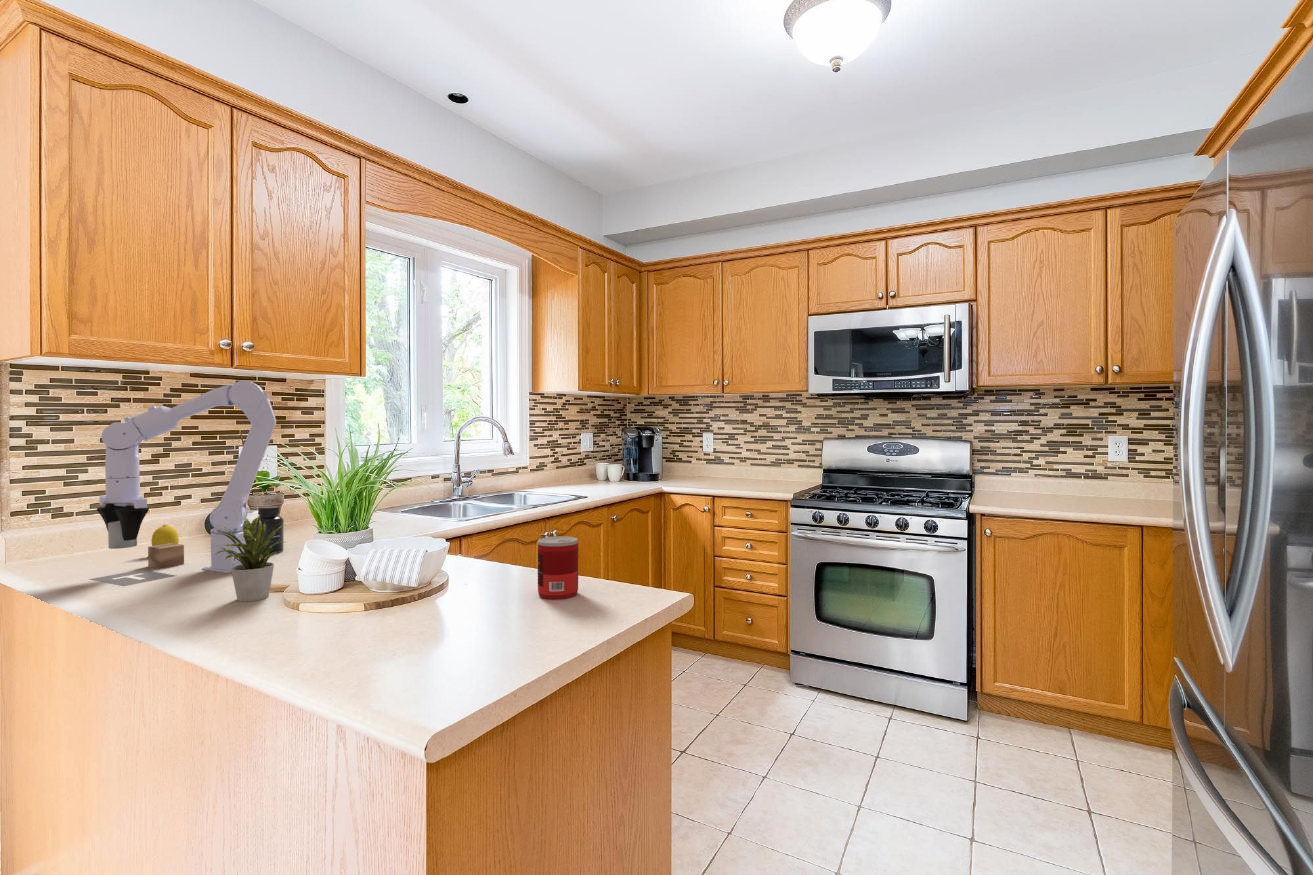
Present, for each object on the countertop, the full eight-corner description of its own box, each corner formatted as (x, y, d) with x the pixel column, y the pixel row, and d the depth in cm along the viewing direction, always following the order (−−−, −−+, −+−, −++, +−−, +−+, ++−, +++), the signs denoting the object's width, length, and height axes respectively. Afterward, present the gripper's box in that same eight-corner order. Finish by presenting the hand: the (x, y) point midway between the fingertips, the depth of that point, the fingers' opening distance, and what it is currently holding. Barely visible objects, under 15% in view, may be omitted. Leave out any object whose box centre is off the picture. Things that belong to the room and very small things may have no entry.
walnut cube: (184, 565, 151) (183, 544, 150) (160, 569, 146) (160, 548, 146) (172, 563, 153) (171, 543, 153) (148, 567, 148) (148, 546, 148)
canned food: (586, 594, 125) (586, 539, 124) (553, 602, 119) (553, 544, 119) (562, 587, 130) (561, 534, 130) (530, 595, 124) (529, 539, 124)
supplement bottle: (273, 554, 162) (273, 508, 162) (247, 554, 163) (247, 508, 162) (289, 549, 169) (289, 505, 169) (264, 549, 169) (263, 505, 169)
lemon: (184, 553, 164) (184, 523, 164) (165, 558, 159) (165, 526, 158) (165, 553, 165) (164, 522, 164) (145, 557, 159) (145, 526, 159)
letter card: (177, 576, 139) (177, 575, 139) (123, 587, 130) (123, 586, 130) (141, 570, 145) (141, 569, 145) (88, 580, 136) (88, 579, 136)
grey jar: (141, 545, 139) (141, 520, 139) (115, 549, 135) (115, 524, 135) (129, 543, 141) (129, 519, 141) (103, 547, 137) (103, 522, 137)
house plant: (196, 597, 122) (195, 513, 122) (276, 584, 132) (275, 507, 132) (214, 612, 112) (213, 521, 112) (299, 596, 123) (298, 513, 122)
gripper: (82, 477, 137) (83, 539, 137) (119, 480, 131) (120, 544, 131) (120, 475, 144) (121, 534, 144) (157, 477, 138) (158, 539, 138)
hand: (123, 538), depth 138 cm, fingers closed on grey jar, 5 cm apart
